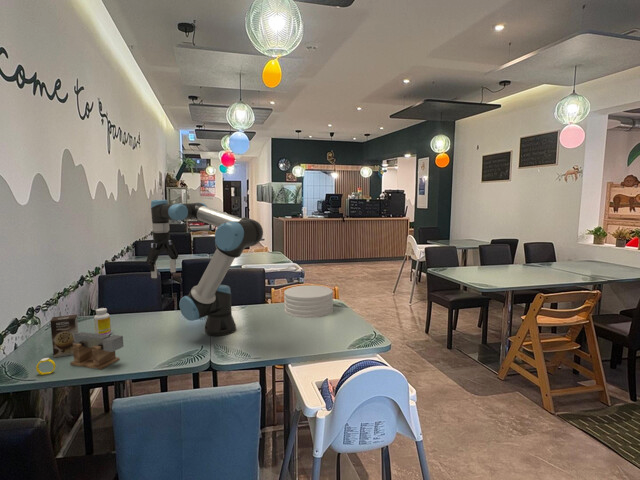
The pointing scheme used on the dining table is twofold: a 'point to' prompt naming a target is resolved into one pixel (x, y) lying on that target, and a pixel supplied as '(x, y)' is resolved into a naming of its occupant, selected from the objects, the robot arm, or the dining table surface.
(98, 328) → the supplement bottle
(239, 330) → the dining table surface
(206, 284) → the robot arm
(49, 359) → the watch
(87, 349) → the cradle rack
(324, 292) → the plate stack
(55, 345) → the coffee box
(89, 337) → the grey t-shaped block
